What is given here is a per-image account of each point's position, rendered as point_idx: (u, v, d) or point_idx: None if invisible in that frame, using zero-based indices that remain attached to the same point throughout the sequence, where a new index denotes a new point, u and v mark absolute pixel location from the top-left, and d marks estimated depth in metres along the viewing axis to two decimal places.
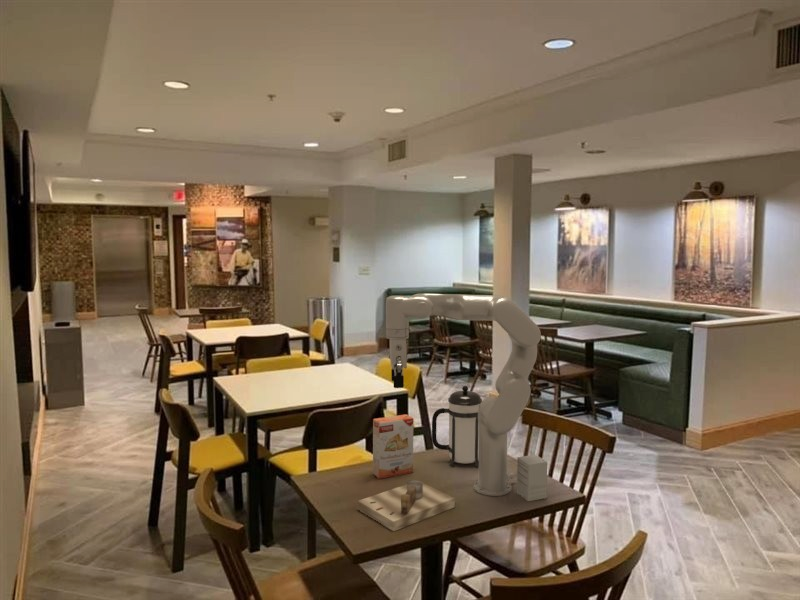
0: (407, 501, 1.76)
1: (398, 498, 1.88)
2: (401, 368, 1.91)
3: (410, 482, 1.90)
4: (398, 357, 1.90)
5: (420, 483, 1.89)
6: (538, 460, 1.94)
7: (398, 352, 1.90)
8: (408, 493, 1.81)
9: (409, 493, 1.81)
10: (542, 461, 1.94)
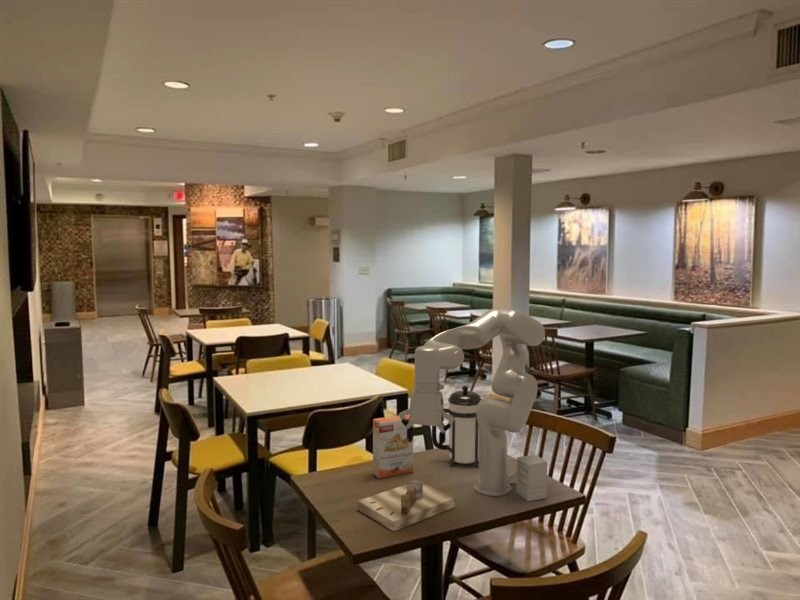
0: (407, 501, 1.76)
1: (398, 498, 1.88)
2: (442, 423, 1.78)
3: (410, 482, 1.90)
4: (443, 411, 1.77)
5: (420, 483, 1.89)
6: (538, 460, 1.94)
7: (442, 406, 1.77)
8: (408, 493, 1.81)
9: (409, 493, 1.81)
10: (542, 461, 1.94)
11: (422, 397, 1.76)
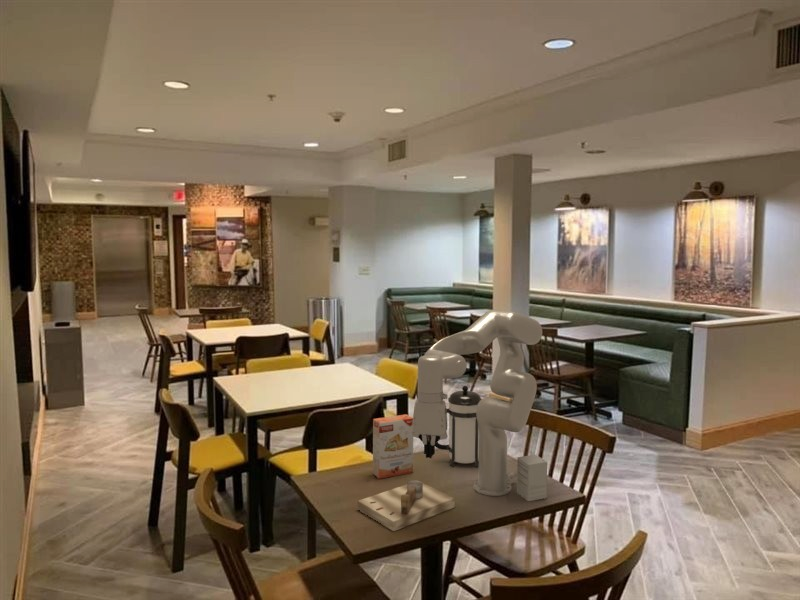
0: (407, 501, 1.76)
1: (398, 498, 1.88)
2: (436, 436, 1.78)
3: (410, 482, 1.90)
4: None
5: (420, 483, 1.89)
6: (538, 460, 1.94)
7: (446, 416, 1.76)
8: (408, 493, 1.81)
9: (409, 493, 1.81)
10: (542, 461, 1.94)
11: (425, 407, 1.74)
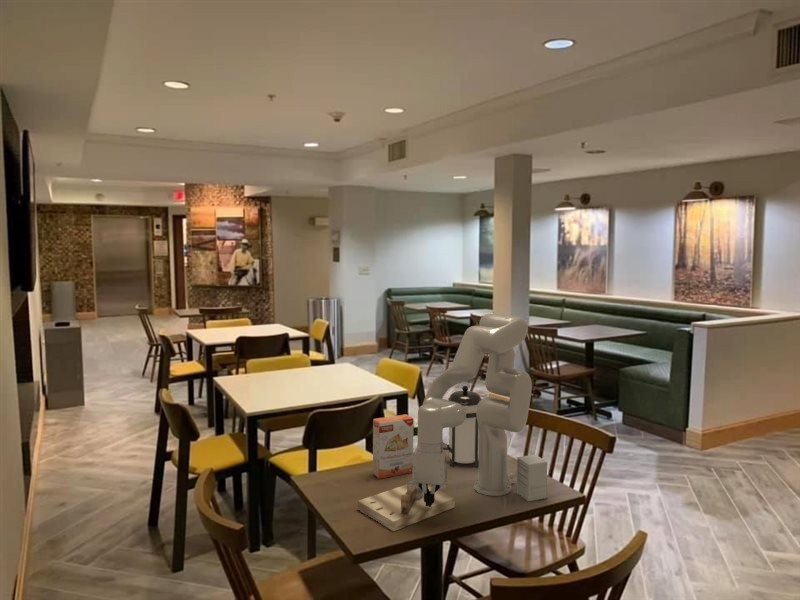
0: (407, 501, 1.76)
1: (398, 498, 1.88)
2: None
3: (410, 482, 1.90)
4: None
5: None
6: (538, 460, 1.94)
7: (445, 465, 1.77)
8: (408, 493, 1.81)
9: (409, 493, 1.81)
10: (542, 461, 1.94)
11: (425, 456, 1.76)
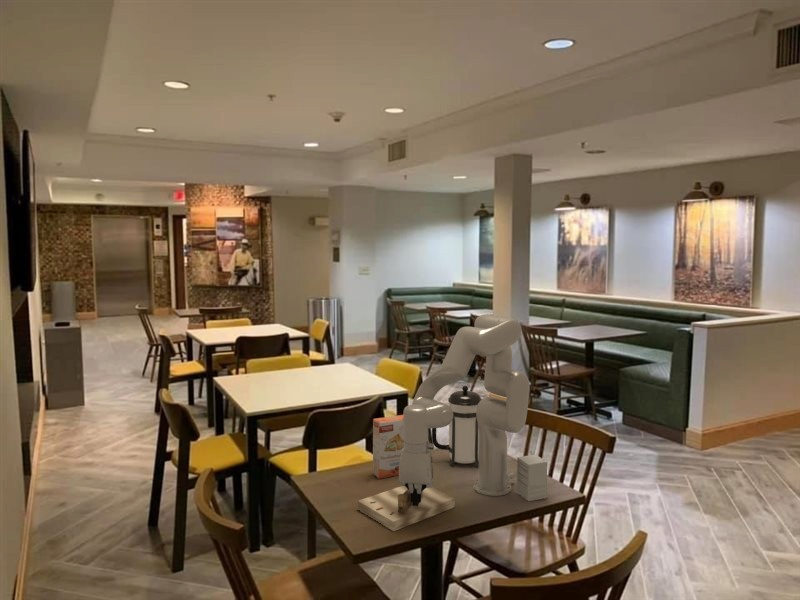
0: (404, 501, 1.77)
1: None
2: None
3: None
4: None
5: None
6: (538, 460, 1.94)
7: (432, 464, 1.78)
8: (406, 493, 1.81)
9: (407, 493, 1.81)
10: (542, 461, 1.94)
11: (411, 456, 1.77)
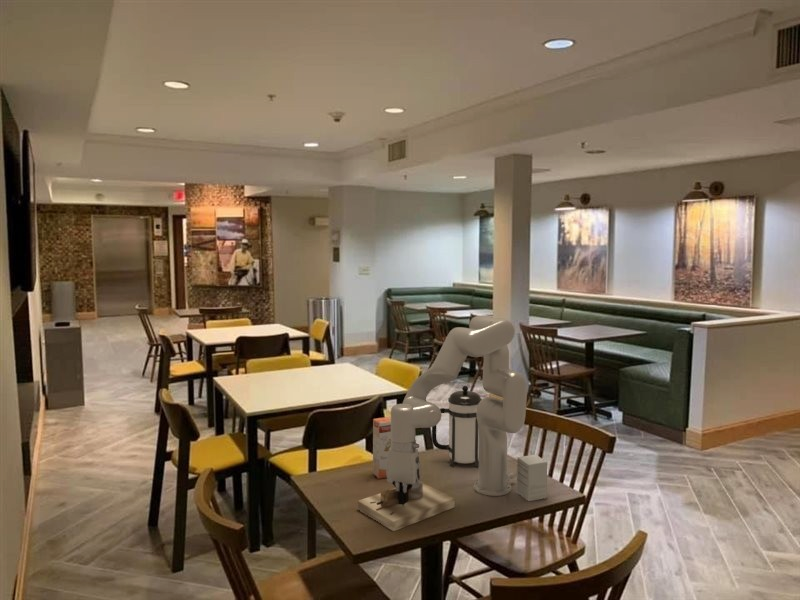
0: (385, 496, 1.80)
1: None
2: None
3: None
4: None
5: None
6: (538, 460, 1.94)
7: (417, 465, 1.78)
8: (395, 489, 1.84)
9: None
10: (542, 461, 1.94)
11: (397, 455, 1.78)
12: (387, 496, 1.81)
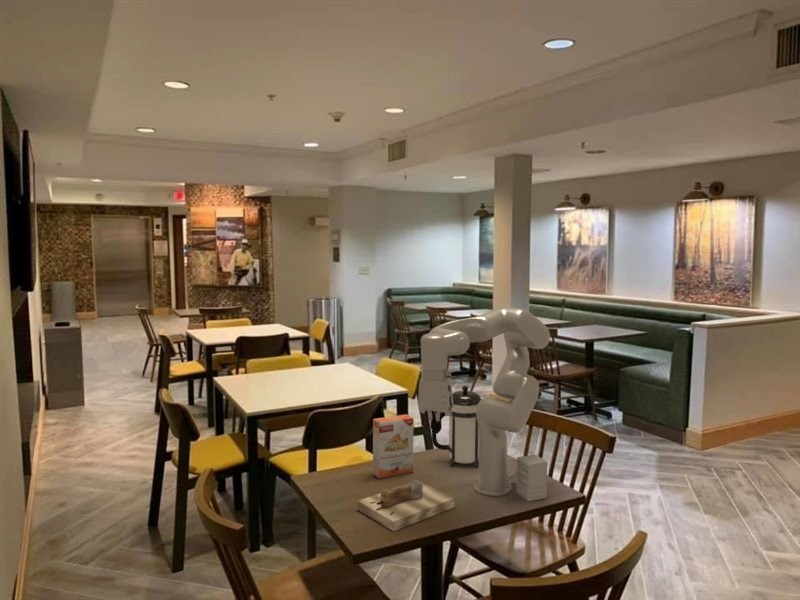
0: (385, 496, 1.80)
1: None
2: (442, 412, 1.81)
3: (412, 481, 1.90)
4: None
5: (419, 484, 1.88)
6: (538, 460, 1.94)
7: (450, 393, 1.78)
8: (395, 489, 1.84)
9: (396, 490, 1.84)
10: (542, 461, 1.94)
11: (429, 384, 1.78)
12: (387, 496, 1.81)
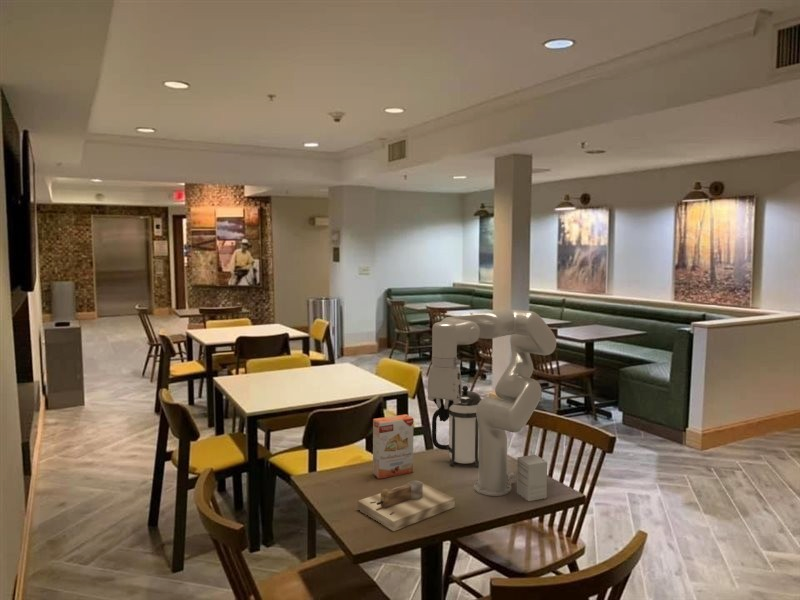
0: (385, 496, 1.80)
1: None
2: (451, 400, 1.83)
3: (412, 481, 1.90)
4: None
5: (419, 484, 1.88)
6: (538, 460, 1.94)
7: (459, 381, 1.80)
8: (395, 489, 1.84)
9: (396, 490, 1.84)
10: (542, 461, 1.94)
11: (438, 371, 1.80)
12: (387, 496, 1.81)
